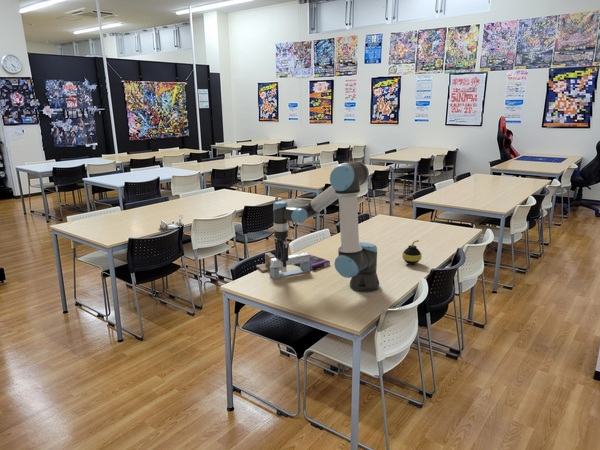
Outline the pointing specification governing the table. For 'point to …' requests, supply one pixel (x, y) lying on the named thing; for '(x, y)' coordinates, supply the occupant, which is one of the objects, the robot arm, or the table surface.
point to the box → (316, 262)
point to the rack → (290, 271)
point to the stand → (266, 263)
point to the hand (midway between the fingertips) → (282, 270)
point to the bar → (290, 260)
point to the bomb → (412, 254)
